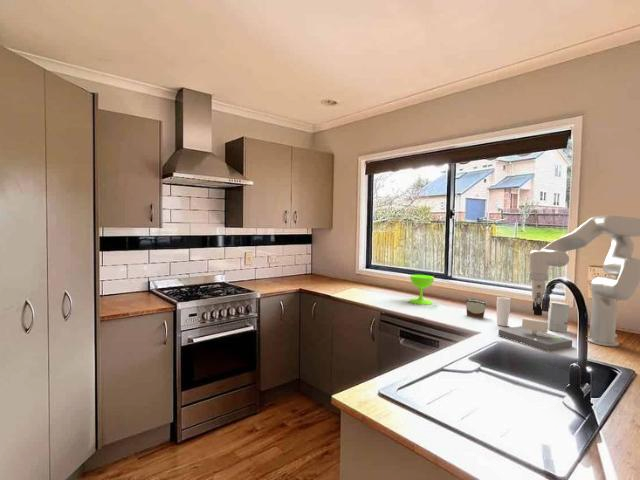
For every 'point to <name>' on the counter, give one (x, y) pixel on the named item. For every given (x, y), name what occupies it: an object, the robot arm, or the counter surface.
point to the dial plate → (535, 338)
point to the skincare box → (558, 316)
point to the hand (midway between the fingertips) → (537, 313)
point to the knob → (536, 326)
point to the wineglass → (421, 287)
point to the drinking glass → (503, 310)
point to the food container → (475, 307)
